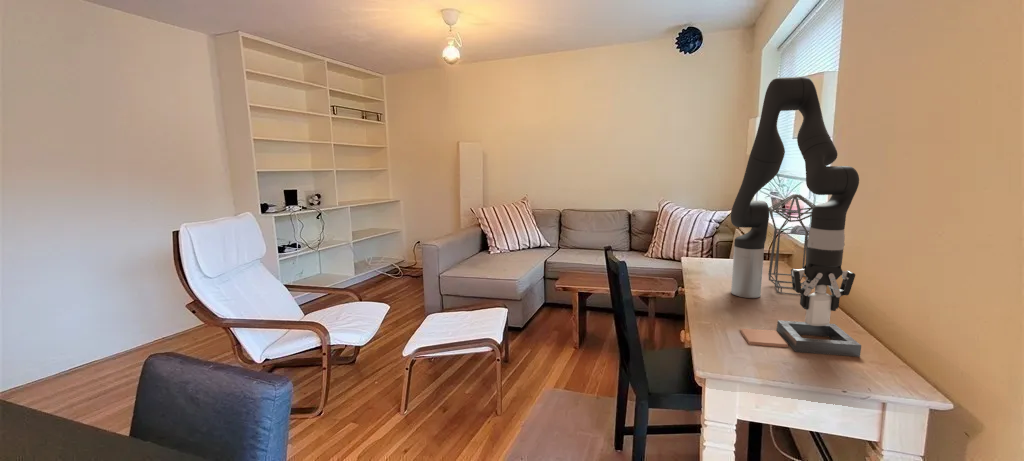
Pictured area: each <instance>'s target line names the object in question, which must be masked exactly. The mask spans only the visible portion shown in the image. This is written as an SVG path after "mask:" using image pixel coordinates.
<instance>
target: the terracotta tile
mask: <svg viewBox="0 0 1024 461" xmlns="http://www.w3.org/2000/svg"><path fill="white" fill-rule="evenodd" d="M739 329H740V330H739V332H740V333H741V335H742V336H743V338H744V339H745V341H746V342H747V344H748V345H751V346H753V345H754V346H765V347H778V348H779V347H780V348H788V345H789V344H788V343H787V342H786V340H785V339H784V338H783V337H782V336H781V335H780V334H779V332H778V331H777V330H769V329H754V328H739Z"/></svg>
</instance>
